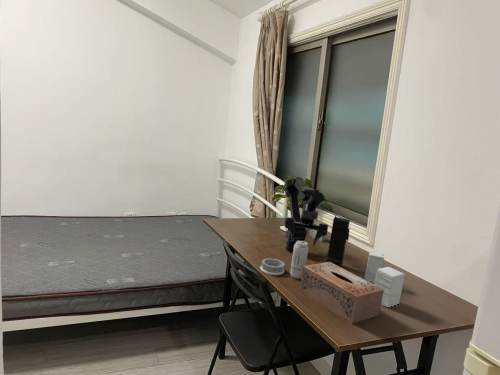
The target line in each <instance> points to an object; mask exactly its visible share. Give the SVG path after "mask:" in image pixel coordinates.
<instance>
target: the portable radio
mask: <svg viewBox="0 0 500 375" xmlns="http://www.w3.org/2000/svg"><path fill="white" fill-rule="evenodd" d="M350 221H351V220H350V219H347V218H344V217H343V218H342V217H338V216H337V215H335V216H334V218H333V220H332V227H331V233H330V239H329V244H328V252H327V257H326V262H331V263H333V264H335V265H337V266H339V267H341V268H342V267H343V264H344V257H345V251H346V246H347V242H348V241H349V238H350V230H351V229H350V228H349V227H350Z"/></svg>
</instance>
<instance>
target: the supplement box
mask: <svg viewBox="0 0 500 375" xmlns="http://www.w3.org/2000/svg"><path fill="white" fill-rule="evenodd" d="M405 275H406V274H405V273H403V272H401V271H399V270H397V269H394V268H392V267H390V266H385V267H382V268H380V269H377V273H376V279H375V283H373V284H374V285H376V286H378V287H380V288H382V289H384V292H383V297H382V302H381V304H382V305H381V306H383V305H384V306H386V307H389V308H391V306H392V307H395V306H394V305H396V306H398V305H397V304H399V305H400V302H401V295H402V291H403V286H404V280H405V277H406V276H405ZM384 306H383V307H384ZM386 307H385V308H386Z"/></svg>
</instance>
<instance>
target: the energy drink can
mask: <svg viewBox="0 0 500 375" xmlns="http://www.w3.org/2000/svg"><path fill="white" fill-rule="evenodd" d="M308 245H309V243H308V242H307V241H305V240H304V241H296V243H295V245H294V250H293V253H292V258H291V264H290V271H289V274H290V276H291V277H290V278H293V279H296V280H301V278H302V271H303V266H307V262H308V261H307V260H308V255H309V249H310V248H309V246H308Z"/></svg>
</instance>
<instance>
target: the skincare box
mask: <svg viewBox="0 0 500 375" xmlns="http://www.w3.org/2000/svg"><path fill="white" fill-rule="evenodd" d="M384 260H385V256H384V254H382V253H377V252H372V251H369V253H368V258H367V262H366V268H365V273H364V277H363V279H364V280H366V281H368V282H370V283H371V282H372V284H375V279H376V273H377V269H380V268H383V265H384Z"/></svg>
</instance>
